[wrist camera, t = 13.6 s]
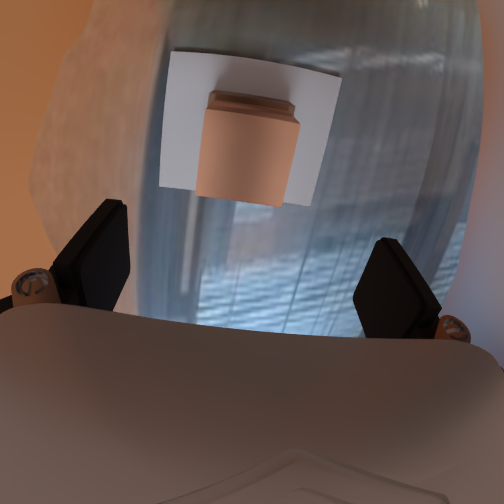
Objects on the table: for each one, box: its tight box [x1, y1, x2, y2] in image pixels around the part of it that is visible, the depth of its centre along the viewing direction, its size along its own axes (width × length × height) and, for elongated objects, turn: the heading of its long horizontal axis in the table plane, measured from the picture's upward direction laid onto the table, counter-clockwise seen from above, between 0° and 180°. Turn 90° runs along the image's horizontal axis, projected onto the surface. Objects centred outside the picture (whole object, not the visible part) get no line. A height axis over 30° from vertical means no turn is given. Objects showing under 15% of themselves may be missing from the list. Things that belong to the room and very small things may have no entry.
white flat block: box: [159, 51, 342, 206], centre depth 26 cm, size 16×14×5 cm
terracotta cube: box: [195, 100, 301, 207], centre depth 22 cm, size 6×6×6 cm
